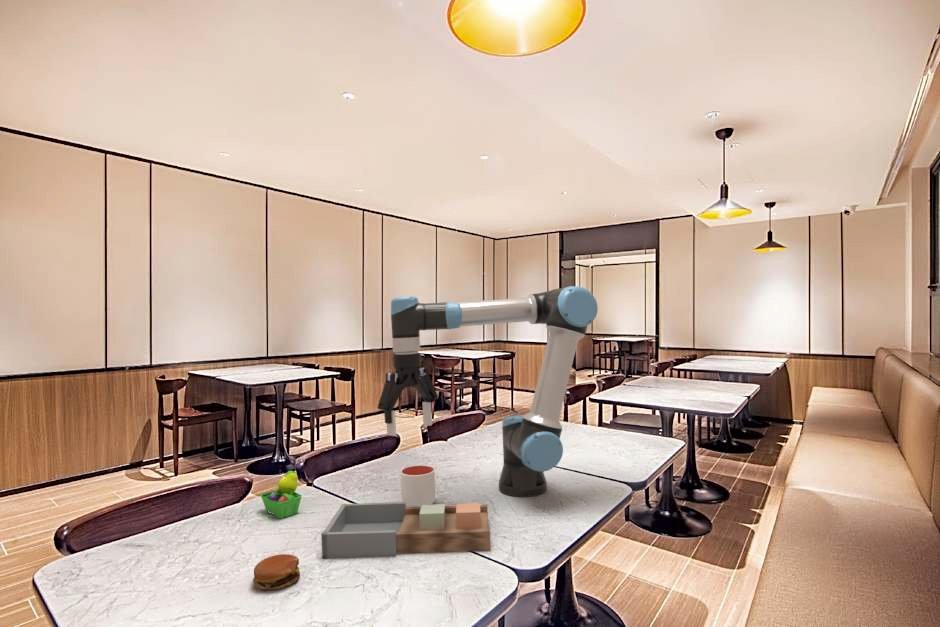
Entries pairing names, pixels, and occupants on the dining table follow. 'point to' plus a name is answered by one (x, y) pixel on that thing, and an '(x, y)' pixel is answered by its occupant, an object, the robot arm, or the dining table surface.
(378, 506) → the box
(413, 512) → the wooden tray
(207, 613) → the dining table surface
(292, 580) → the burger
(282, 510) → the fruit basket
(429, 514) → the tile
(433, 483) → the cup
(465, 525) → the tile
